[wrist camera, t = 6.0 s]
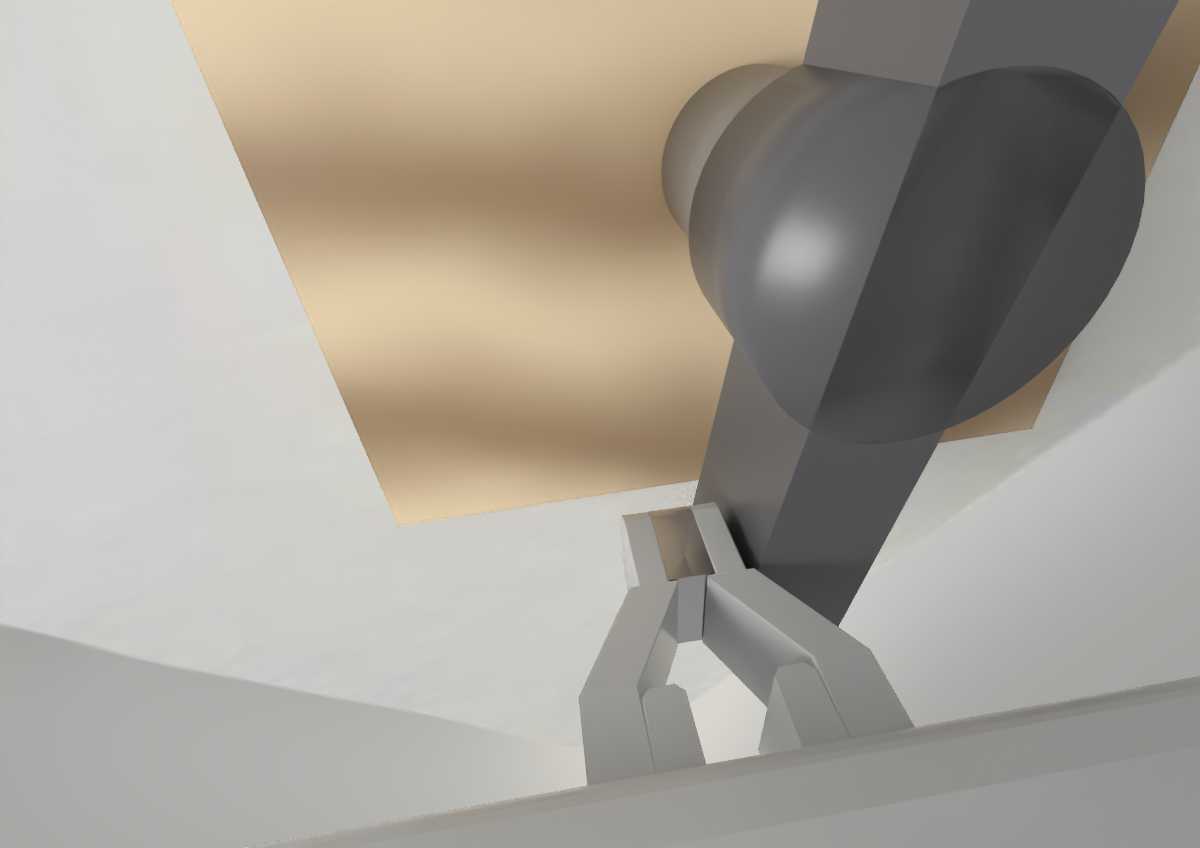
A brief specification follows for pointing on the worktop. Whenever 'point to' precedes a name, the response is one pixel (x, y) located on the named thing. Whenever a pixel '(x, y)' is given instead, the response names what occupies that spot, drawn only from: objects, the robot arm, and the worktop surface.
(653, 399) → the tuner board
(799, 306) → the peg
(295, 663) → the worktop surface
